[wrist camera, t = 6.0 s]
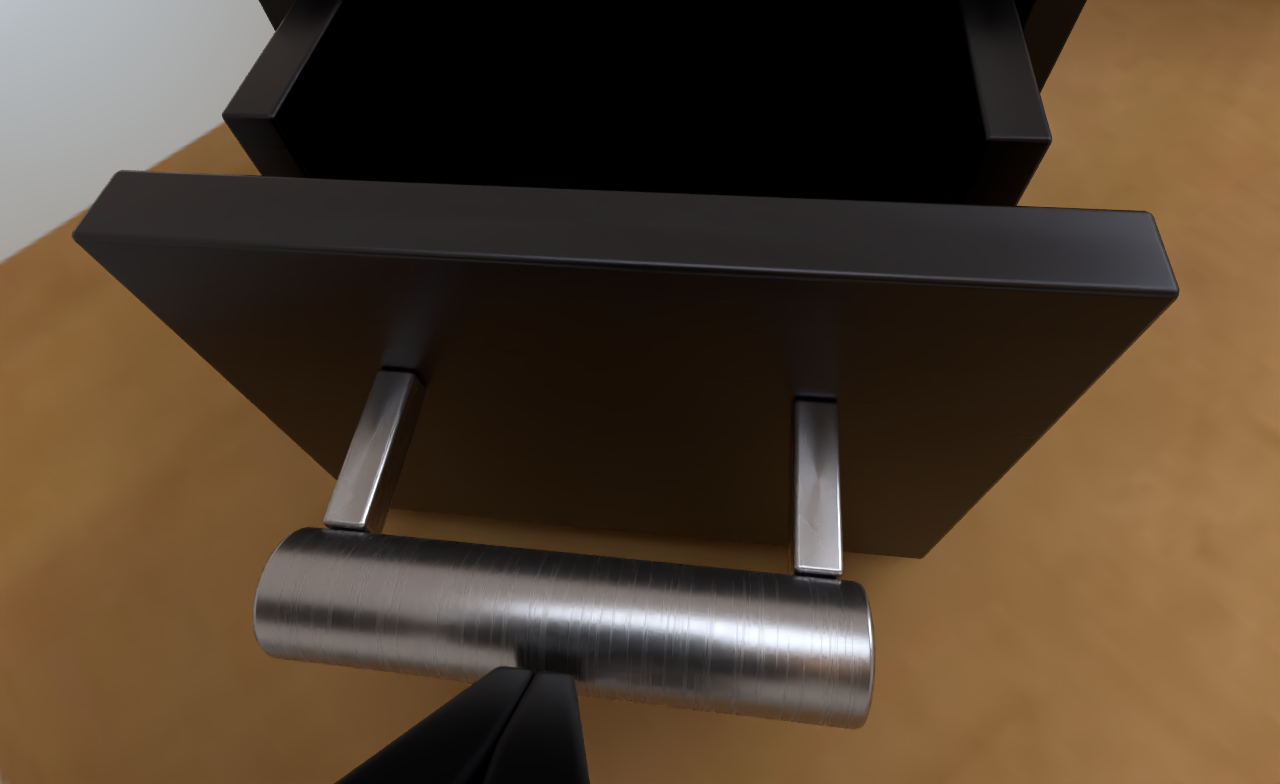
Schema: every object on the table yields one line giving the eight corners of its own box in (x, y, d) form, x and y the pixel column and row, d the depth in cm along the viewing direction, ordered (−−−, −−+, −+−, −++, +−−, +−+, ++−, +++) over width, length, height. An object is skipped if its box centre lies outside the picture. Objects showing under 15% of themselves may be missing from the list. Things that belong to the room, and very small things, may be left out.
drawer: (943, 777, 12) (1349, 744, 5) (299, 695, 14) (-178, 566, 6) (881, 110, 22) (986, -259, 14) (501, 101, 23) (411, -241, 15)
